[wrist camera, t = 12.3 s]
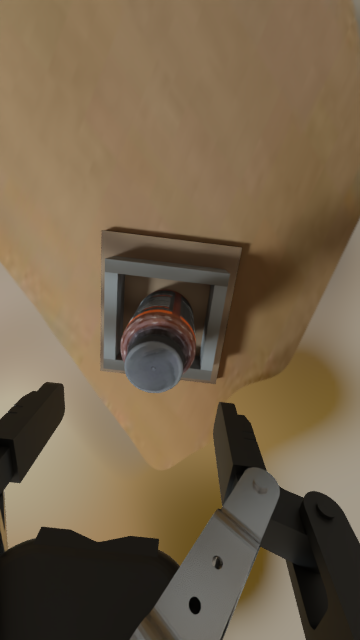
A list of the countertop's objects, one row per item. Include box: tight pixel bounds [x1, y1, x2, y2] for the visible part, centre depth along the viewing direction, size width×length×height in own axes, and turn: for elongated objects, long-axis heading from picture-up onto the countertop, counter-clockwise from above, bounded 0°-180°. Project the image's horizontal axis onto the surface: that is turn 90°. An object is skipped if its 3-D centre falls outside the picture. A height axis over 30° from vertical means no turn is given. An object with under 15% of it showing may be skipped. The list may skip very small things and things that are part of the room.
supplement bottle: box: [120, 289, 196, 393], centre depth 21 cm, size 6×6×11 cm
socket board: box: [100, 230, 242, 384], centre depth 26 cm, size 16×14×4 cm
